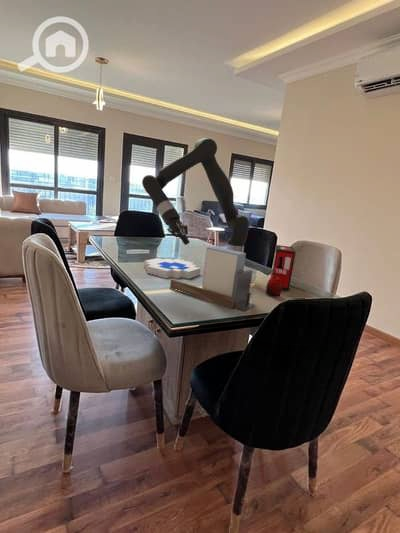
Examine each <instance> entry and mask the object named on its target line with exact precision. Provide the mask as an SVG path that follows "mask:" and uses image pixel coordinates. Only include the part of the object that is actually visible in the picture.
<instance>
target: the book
mask: <svg viewBox="0 0 400 533" xmlns="http://www.w3.org/2000/svg"><path fill="white" fill-rule="evenodd" d="M246 255H247V253H246V252H244V251H243V252H239V251H234V250H229V249H227V248H225V247H220V246H215V245H214V246H208V247H206V253H205V261H204V262H205V263H204V270H203V280H202V287H201V288H203V289H206V290H210V291H213V292H216V293H220V294H223V295H226V296H229V297H232V290H233V283H234V276H235V274H237V273H240V272H243V271H245V263H246V257H247V256H246Z"/></svg>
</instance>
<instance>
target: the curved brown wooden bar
mask: <svg viewBox="0 0 400 533" xmlns="http://www.w3.org/2000/svg"><path fill="white" fill-rule="evenodd" d="M171 288H173V289H172V290H174V289H177V290H180V291H183V292H186V293H185V294H187V293H189V294H188V295H190V294H191V295H190V296H193V295H194V296H193V297H196V296H197V297H196V298H199V299H203V300H206V301H209V302H212V303H215V304H217V305H221V306H224V307H227V308H230V305H231V298H232V297H229V296H226V295H223V294H220V293H216V292H213V291H210V290H206V289H203V288H202V287H199V286H196V285H192V284H190V283H186V282H183V281H180V280H177V279H173V278H171V279H170V285H169V289H171ZM177 290H176V291H177ZM180 291H179V292H180ZM183 292H182V293H183ZM251 294H252V293H251V292H249V295H248V301H247V302H249V303H251V302H250V300H251ZM237 304H238V299H236V302H235V309H234V310H237V309H236V308H237Z"/></svg>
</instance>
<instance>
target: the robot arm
mask: <svg viewBox="0 0 400 533" xmlns="http://www.w3.org/2000/svg"><path fill="white" fill-rule="evenodd" d="M217 150H218V144H217V142H216V141H215V140H213V139H212V138H208V137H205V138H204V137H203V138H200V139H198V140H197V141H196V142H195V145H194V149H192V150H191V151H190V152H188V153H186V154H185V155H183V156H181V157H179V158H177V159H175V160H173V161H171V162H169V163H168V164H166V165H165V166H163V168H161V169H160V170H159V171H158V174H157V176H156V177H155V175H152V174H146V175H144V177H143V178H142V182H141V184H142V187H143V189H144V190H145V192H146V193H147V194H148V196H149V197H150V199H151V201H152V203H153V205H154V206H155V208H156V210H157V212H158V214H159V216H160V217H161V220H162V221H163V223H164V224H165V226H168V228H167V232H169V233H171V235H173V236H174V237H175V238H179V239H180V240H181V241H182V243H183V245H188V244H190V240H189V239H188V237H187V235H188V234H189V232H188V231H189V229H188V225H187V224H185V225H184V224H183V222H182V221H181V220H180V218H181V216H180V214H179V213H178V211H177V209H176V208H175V206H174V204H173V203H172V202H171V200H170V199H169V198H168V195H167V194H166V193H165V192H164V190H163V189H164V188H165V187H166V186H167V185H168V184H169V183H171V182H172V181H173V180H175V179H177V178H178V177H179V176H181V175H182V174H184V173H185V172H186V171H188V170H190V169H191V168H193V167H194V166H196V165H198V164H200V163H201V165H202V166H203V169H204V171H205V174H206V176H207V178H208V182H209V183H210V186H211V189H212V191H213V193H214V195H215V197H216V200H217V202H218V204H219V206H220V208H221V210H222V213H223V215H224V219H225V222H226V225H227V227H228V229H229V230H230V231H231V232H232V235H231V237H229V238H228V239H227V244H226V249H229V250H234V251H239V252H243V253H244V250H245V243H246V241H247V239H248V235H249V234H248V233H249V229H250V221H249V218H248V217H247V216H245V215H241V214H239V213H238V211H237V209H236V207H235V203H234V190H233V187H232V184H231V182H230V180H229V178H228V176H227V175H226V172H224V171H223V169H222V168H221V167H220V165H219V163H218V161H217V159H216V156H215V155H216V154H217Z"/></svg>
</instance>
